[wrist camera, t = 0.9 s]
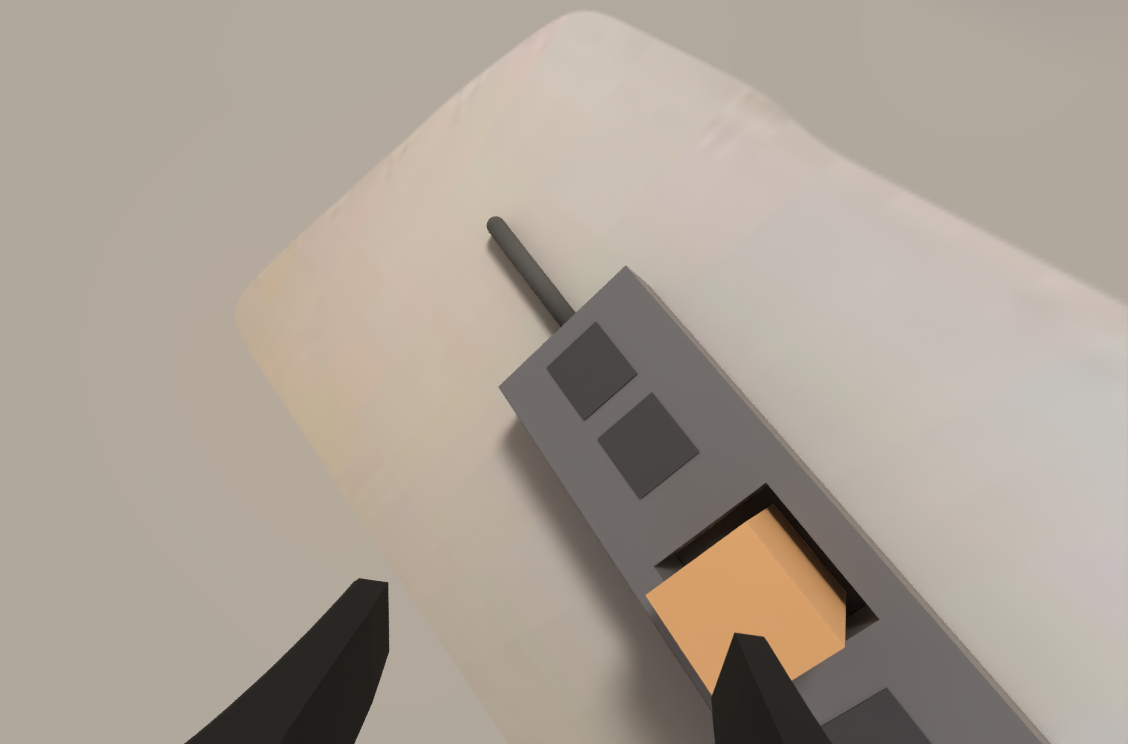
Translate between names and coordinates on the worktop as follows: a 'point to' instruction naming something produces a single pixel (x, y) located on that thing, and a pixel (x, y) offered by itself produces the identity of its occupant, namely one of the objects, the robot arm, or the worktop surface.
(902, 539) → the worktop surface
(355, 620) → the robot arm
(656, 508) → the power strip
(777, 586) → the orange rectangular block
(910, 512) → the worktop surface
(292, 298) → the worktop surface
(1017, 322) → the worktop surface
